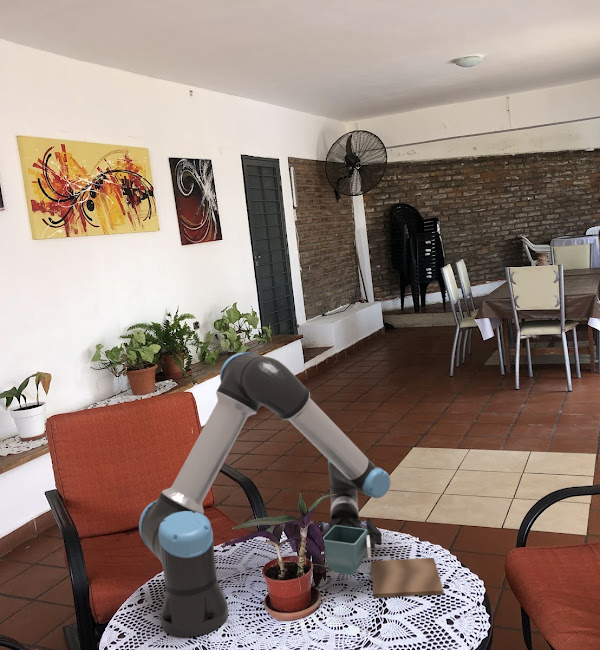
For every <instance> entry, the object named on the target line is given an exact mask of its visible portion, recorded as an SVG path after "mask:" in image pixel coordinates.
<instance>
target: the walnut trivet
mask: <svg viewBox="0 0 600 650" xmlns="http://www.w3.org/2000/svg"><path fill="white" fill-rule="evenodd" d="M370 568H371V569H370V570H371V583H372V591H373V592H372V594H373V599H377V597H382V598H397V597H396V596H402V597H412V596H411V595H422V596H436V595H437V596H438V595H444V589H443V585H442V582H441V579H440V578H441V577H440V574H439V571H438V568H437V564H436V560H435V558H434V557H420V558H404V559H402V558H401V559H385V560H370ZM394 596H395V597H394ZM375 597H376V598H375Z"/></svg>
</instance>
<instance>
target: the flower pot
mask: <svg viewBox="0 0 600 650" xmlns="http://www.w3.org/2000/svg"><path fill="white" fill-rule="evenodd" d="M366 537H367V529H362V528H353V527H346V526H339V525H334V526H333V527H332V528H331V529H330V530H329V532H328V533H327V534H326V535H325V536H324V537H323V540H324V546H325V551H324V559H325V562H326V564H327V565H328V567H329V569H330V570H331V571H332V572H333V573H336V574H343V575H350V576H353V575H355V573H356V572H357V570H358V569H359V568H360V567H361V565H362V563H363V561H364V558H365V556H366V552H367V539H366Z"/></svg>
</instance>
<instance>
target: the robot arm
mask: <svg viewBox="0 0 600 650" xmlns="http://www.w3.org/2000/svg"><path fill="white" fill-rule="evenodd" d="M219 378H220V384H219V386H218V388H217V390H216V391H215V394H216V397H217V402H216V404H215V406H214V408H213V409H212V411H211V413H210V415H209V416H208V419H207V420H206V423H205V424H204V426H203V428H202V430H201V432H200V434H199V435H198V438H197V439H196V441H195V443H194V444H193V446H192V448H191V450H190V453H189V454H188V456H187V458H186V459H185V461H184V462H183V464H182V466H181V468H180V471H179V473H178V474H177V475H176V478H175V480H174V482H173V483H172V485H171V486H170V487H169V488H165V489H163V490H162V491H161V493H160V494H159V496H158V497H157V499H156V500H154V501H151V502H150V503H149V504H148V505H147V506H146V507H145V508H144V509H143V511H142V512H141V514H140V518H139V522H138V529H139V531H138V532H139V534H140V537H141V538H142V542H143V543H144V545H145V546H146V547H147V549H149V550H150V551H151V552H152V553H153V554H154V556H155V557H156V558H157V559H158V560H159V561H160V563H161V565H162V570H163V579H164V587H165V593H164V598H163V603H162V607H161V611H160V620H161V621H160V622H161V628H162V629H163V630H164V632H165V633H167V634H168V635H171V636H174V637H180V638H193V637H199V636H203V635H206V634H208V633H210V632H213V631H215V630H217V629H218V628H220V626H222V625H224V623H225V622H226V621H227V619H228V618H229V617H228V616H229V608H228V602H227V599H226V597H225V595H224V593H223V591H222V589H221V587H220V584H219V583H218V578H217V577H218V576H217V567H216V557H215V548H214V532H213V529H212V525H211V521H210V519H209V518H208V517H207V516H206V515H204V514H205V511H204V507H203V502H204V500H205V498H206V496H207V495H208V493H209V492H210V489H211V487H212V485H213V483H214V482H215V480H216V478H217V476H218V474H219V472H220V470H221V468H222V467H223V465H224V463H225V461H226V460H227V457H228V455H229V453H230V451H231V449H232V448H233V446H234V443H235V442H236V441H237V439H238V436H239V434H240V433H241V431H242V428H244V424H245V423H246V421H247V420H248V418H249V417H250V416H253V415H256V414H257V413H258V411H259V409H260V407H261V406H263V407H264V408H266V409H268V410H270V411H272V413H275V415H276V416H278V417H279V418H280V419H281V420H284V421H289V422H290V423H291V424H292V426H294V427H295V428H296V430H297V431H299V433H300V434H302V435H303V436H304V437H305V438H306V439H307V441H309V442H310V443H311V444H312V445H313V446H314V447H315V448H316V449H317V450H318V451H319V452H320V453H321V454H322V455H323V456H324V457H325V458H326V459H327V465H328V466H327V467H328V475H329V492H330V494H337V495H334V496H331V495H330V520H329V521H328V522H326V523H325V522H323V520H318V521H317V525H319V526H320V530H321V532H322V535H323V537H324V536H325V535H326V534H327V533H328V532H329V530H330V529H331V528H332V527H333V526H334V525H339V526H346V527H353V528H362V529H367V537H366V539H367V545H366V552H367V559H372V551H371V550H374V549H376V543H377V544H382V543H383V541H382V532H381V531H380V529H378V528H377V526H376V525H375V524H374V523H373V522H372V519H371V518H366V519H365V520H364V521H362V520H360V515H359V512H360V511H359V496H358V492H359V493H360V492H361V493H362V494H364V495H365V496H366V497H371V498H373V499H380V498H383V497H384V496H386V494H387V493H388V491H389V490H390V488H391V477H390V475H389V473H388V472H387V471H386V470H384V469H383V468H381V467H378V466H376V465H375V464H374V463H373V462H372V461H371V460H370V459H369V458H368V457H367V456H366V455H365V453H363V452H362V451H361V449H359V447H358V446H357V445H356V444H355V443H354V442H353V441H352V440H351V439H350V438H349V437H348V435H346V434H345V433H344V432H343V431H342V430H341V428H340V427H338V425H336V424H335V422H333V421H332V419H331V418H329V416H328V415H327V414H326V413H325V412H324V411H323V410H322V409H321V408H320V407H319V405H317V404H316V403H315V402H314V400H313V399H311V393H310V390H309V389H308V388H307V387H306V386H305V385H304V384H303V383H302V382H301V380H299V379H298V378H297V376H296V375H295V374H294V373H292V371H291V370H290V369H289V368H288V367H287V366H286V365H284V363H282V362H280V360H277V359H276V358H273V357H270V356H264V355H262V354H257V353H255V352H238V353H235V354H233V355H231V356H230V357H229V358H227V360H225V362H224V363H223V365H222V366H221V368H220V373H219ZM322 554H323V553H322Z"/></svg>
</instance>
